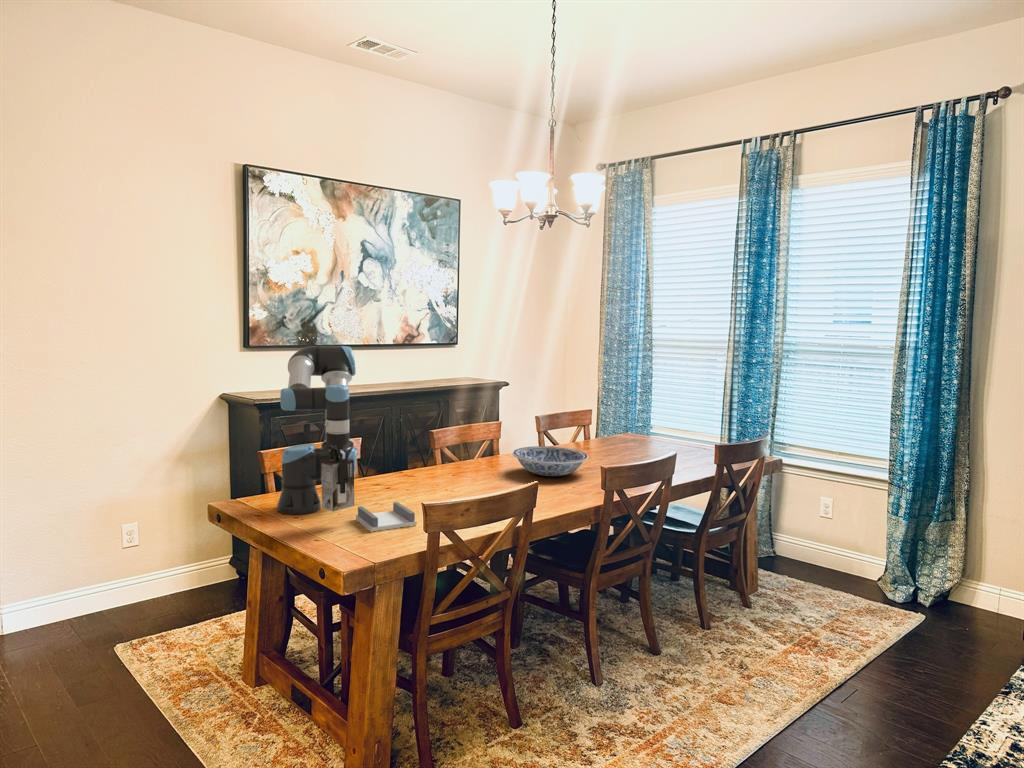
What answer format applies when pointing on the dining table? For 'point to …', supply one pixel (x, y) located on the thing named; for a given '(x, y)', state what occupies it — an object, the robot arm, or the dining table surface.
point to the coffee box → (330, 487)
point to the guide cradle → (386, 518)
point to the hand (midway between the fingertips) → (338, 499)
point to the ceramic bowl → (550, 460)
